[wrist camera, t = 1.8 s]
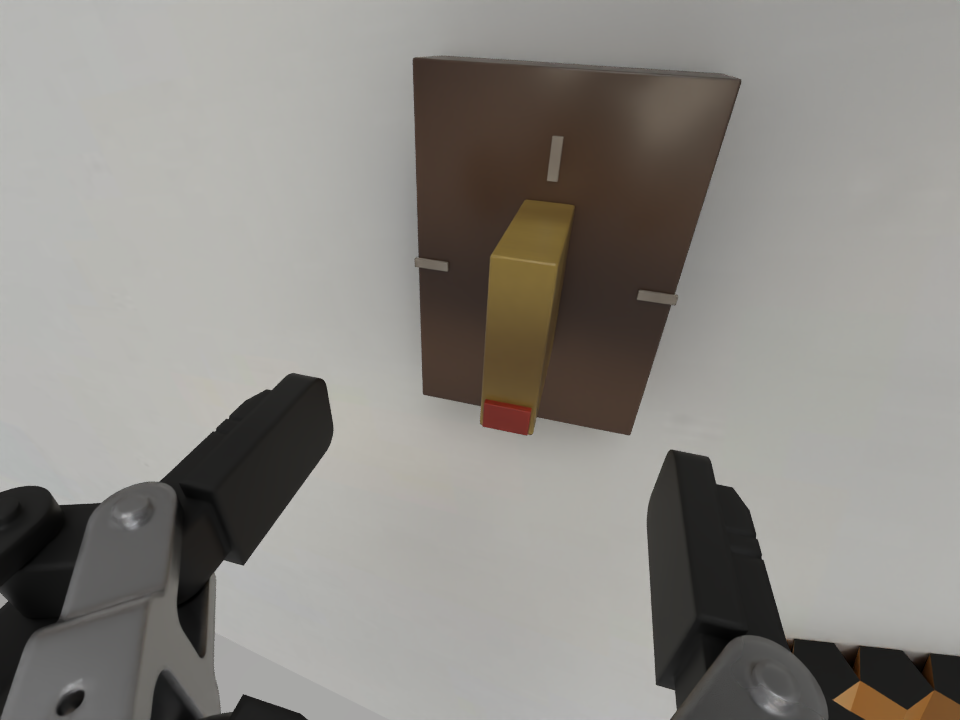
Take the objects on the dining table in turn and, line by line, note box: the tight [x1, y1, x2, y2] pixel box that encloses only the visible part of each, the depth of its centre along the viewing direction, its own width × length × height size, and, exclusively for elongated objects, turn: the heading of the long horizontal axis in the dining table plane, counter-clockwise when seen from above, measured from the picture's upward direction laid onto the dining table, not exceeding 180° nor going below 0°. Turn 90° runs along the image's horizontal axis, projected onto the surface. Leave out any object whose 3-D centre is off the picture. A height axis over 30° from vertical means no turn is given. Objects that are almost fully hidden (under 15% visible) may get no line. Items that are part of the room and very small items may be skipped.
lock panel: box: [413, 56, 741, 435], centre depth 19 cm, size 14×10×3 cm
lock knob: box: [480, 200, 575, 435], centre depth 16 cm, size 6×2×6 cm, turn 177°
